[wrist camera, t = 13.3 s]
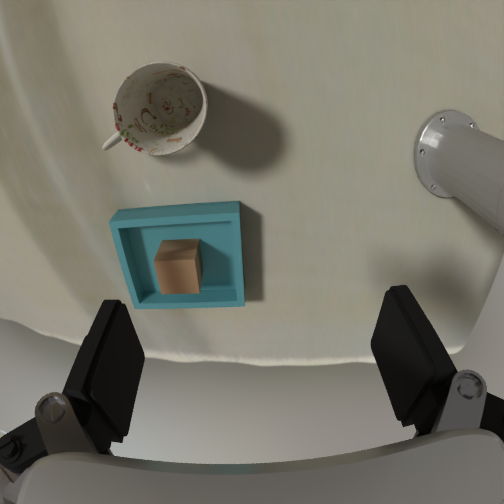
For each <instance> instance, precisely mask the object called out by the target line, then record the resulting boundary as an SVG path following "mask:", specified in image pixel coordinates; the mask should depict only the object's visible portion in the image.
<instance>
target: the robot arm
mask: <svg viewBox="0 0 504 504" xmlns="http://www.w3.org/2000/svg"><path fill="white" fill-rule="evenodd" d="M414 163H415V169H416V172H417V175H418V178H419V179H420V181H421V183H422V184H423V185H424V186H425V188H426V189H428V190H429V191H430V192H431V193H433V194H435V195H437V196H440V197H445V198H450V197H456V198H458V199H459V200H460V201H462V202H463V203H464V204H466V205H467V206H468V207H469V208H471V209H472V210H473V211H474V212H476V213H477V214H478V215H479V216H481V217H482V218H483V219H484V220H486V221H487V222H488V223H489V224H490V225H492V226H493V227H494V228H495V229H496V230H497V231H499V232H500V233H501V234H502V235H503V236H504V141H503V140H501V139H498V138H496V137H494V136H491V135H489V134H487V133H484V132H482V131H480V130H479V128H478V126H477V125H476V123H475V122H474V121H473V120H472V119H471V118H470V117H469V116H467V115H466V114H464V113H462V112H459V111H455V110H444V111H441V112H438V113H436V114H434V115H433V116H432V117H430V118H429V119H428V120H427V121H426V123H425V124H424V125H423V127H422V128H421V130H420V132H419V134H418V137H417V140H416V143H415V149H414ZM371 349H372V352H373V355H374V357H375V360H376V363H377V365H378V368H379V371H380V373H381V376H382V379H383V382H384V384H385V387H386V390H387V393H388V396H389V398H390V401H391V404H392V407H393V410H394V412H395V416H396V418H397V420H399V421H401V423H402V425H403V427H405V426H409V425H413V424H414V425H415V428H416V430H417V431H416V433H415V435H414V437H413V439H409V440H405V441H401V442H398V443H393V444H389V445H384V446H380V447H376V448H371V449H367V450H362V451H357V452H352V453H346V454H341V455H334V456H328V457H321V458H314V459H306V460H296V461H287V462H273V463H256V464H192V463H174V462H163V461H152V460H142V459H134V458H126V457H118V456H114V455H113V454H112V452H111V450H110V446H111V442H119V443H122V442H123V437H124V436H127V434H128V431H129V427H130V422H131V417H132V412H133V408H134V403H135V398H136V395H137V390H138V385H139V381H140V377H141V373H142V369H143V365H144V359H145V355H144V351H143V349H142V346H141V344H140V341H139V339H138V336H137V334H136V331H135V329H134V326H133V323H132V321H131V318H130V315H129V313H128V310H127V307H126V305H125V304H122V303H121V301H120V300H104V301H103V303H102V305H101V307H100V309H99V311H98V313H97V315H96V317H95V320H94V322H93V324H92V326H91V328H90V331H89V333H88V335H87V336H86V337H85V338H84V340H83V343H82V345H81V347H80V350H79V352H78V354H77V357H76V359H75V362H74V364H73V366H72V369H71V371H70V374H69V376H68V379H67V381H66V384H65V387H64V389H63V392H62V394H61V393H58V392H52V393H49V394H46V395H45V396H43V397H42V398H41V399H40V400H39V401H38V403H37V405H36V407H35V417H34V418H33V419H31V420H29V421H27V422H26V423H24V424H22V425H21V426H19V427H17V428H16V429H14V430H12V431H10V432H9V433H7V434H5V435H4V436H2V437H1V438H0V504H504V400H503V399H501V398H499V397H497V396H494V395H492V394H490V393H488V392H487V386H486V383H485V381H484V379H483V378H482V376H480V375H479V374H478V373H476V372H475V371H472V370H462V371H459V372H458V371H457V370H456V368H455V366H454V364H453V362H452V360H451V358H450V357H449V355H448V353H447V351H446V349H445V347H444V346H443V344H442V342H441V340H440V338H439V337H438V335H437V333H436V331H435V330H434V328H433V326H432V325H431V323H430V321H429V320H428V319H427V317H426V315H425V314H424V312H423V310H422V309H421V307H420V305H419V304H418V302H417V301H416V299H415V297H414V296H413V294H412V293H411V291H410V290H409V288H408V287H407V286H406V285H399V286H391V287H390V289H389V290H388V291H386V293H385V296H384V299H383V303H382V306H381V310H380V313H379V317H378V320H377V323H376V327H375V330H374V333H373V336H372V339H371Z"/></svg>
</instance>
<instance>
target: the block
mask: <svg viewBox="0 0 504 504" xmlns="http://www.w3.org/2000/svg"><path fill="white" fill-rule="evenodd" d="M154 266H155V270H156V274H157V279H158V283H159V287H160V291H161V294H196V293H200V289H201V282H202V276H203V264H202V256H201V248H200V240H199V238H198V239H177V240H162V242H161V244H160V246H159V249H158V251H157V254H156V256H155V259H154Z"/></svg>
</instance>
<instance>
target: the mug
mask: <svg viewBox="0 0 504 504" xmlns="http://www.w3.org/2000/svg"><path fill="white" fill-rule="evenodd" d="M207 111H208V99H207V94H206V91H205V88H204V86H203V84H202V83H201V81H200V80H199V78H198V77H197V76H196V75H195V74H194V73H193V72H191V71H190V70H189V69H187V68H186V67H184V66H182V65H179V64H176V63H172V62H153V63H149V64H146V65H143V66H141V67H139V68H137V69H136V70H134V71H133V72H132V73H130V74H129V75H128V76H127V77H126V78H125V79H124V81H123V82H122V83H121V85H120V86H119V88H118V90H117V92H116V95H115V98H114V103H113V119H114V123H115V126H116V129H117V131H118V132H116V133H115V134H114V135H113V136H112V137H110V138H109V139H108V140H107V141H106V142H105V143H104V145H103V146H102V149H103V150H108V149H110V148H111V147H113V146H114V145H116V144H117V143H118V142H120V141H121V140H122V139H123V140H124V141H125V142H126V143H127V144H128V145H129V146H131V147H132V148H134V149H135V150H137V151H139V152H142V153H145V154H149V155H167V154H171V153H174V152H177V151H179V150H181V149H183V148H184V147H186V146H187V145H189V144H190V143H191V142H192V141H193V140H194V139H195V138H196V137H197V136H198V134H199V133H200V131H201V130H202V128H203V126H204V123H205V121H206V117H207Z"/></svg>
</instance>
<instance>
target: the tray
mask: <svg viewBox="0 0 504 504" xmlns="http://www.w3.org/2000/svg"><path fill="white" fill-rule="evenodd" d="M109 224H110V228H111V232H112V235H113V239H114V243H115V247H116V250H117V254H118V257H119V261H120V264H121V267H122V271H123V274H124V277H125V281H126V284H127V287H128V290H129V293H130V296H131V299H132V302H133V305H134V308H135V309H170V308H212V307H239V306H245V290H244V273H243V257H242V240H241V222H240V204H239V201H229V202H211V203H195V204H181V205H167V206H155V207H143V208H132V209H122V210H118V211H117V212H116V213H115V215H114V216H113V217H112V218H111V220H110V221H109ZM198 238H199V240H200V248H201V256H202V264H203V276H202V282H201V289H200V293H196V294H161V291H160V287H159V283H158V279H157V274H156V270H155V266H154V259H155V256H156V254H157V251H158V249H159V246H160V244H161V242H162V240H177V239H198Z"/></svg>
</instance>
